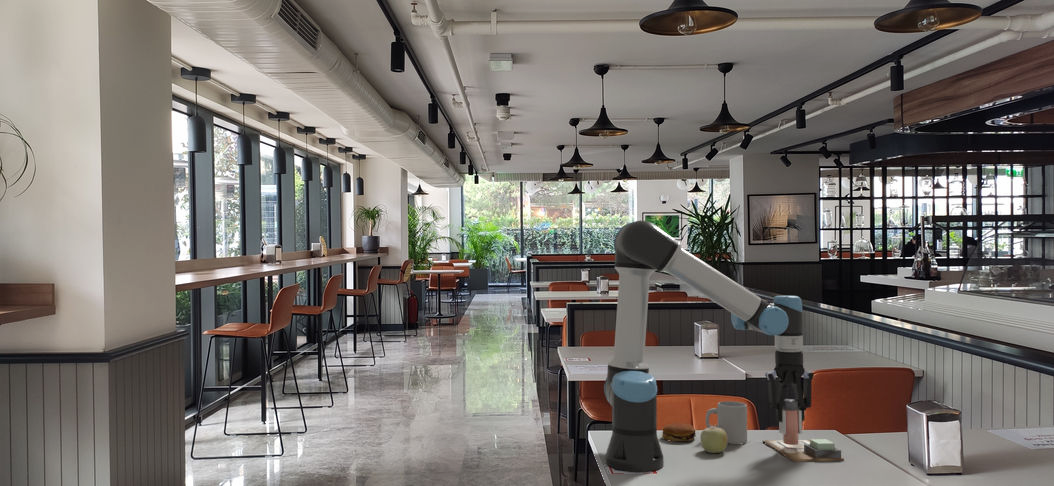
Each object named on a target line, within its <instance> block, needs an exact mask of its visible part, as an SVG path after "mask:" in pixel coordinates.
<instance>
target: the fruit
mask: <svg viewBox="0 0 1054 486" xmlns="http://www.w3.org/2000/svg"><path fill="white" fill-rule="evenodd" d="M712 426H713V427H709V428H707V427H706V428H704V429H703V430H702V431H701V433H700V443H701V446H702V448H703V449H704V450H705V451H706V452H707V453H709V454H716V453H717V454H718V453H721V452H724V451H725V449H726V448H727V446H728V444H727V441H728V439H727V434H726V432H725V431H724V430H723V429H721V428H717V427H714V426H716V423H714V424H712Z"/></svg>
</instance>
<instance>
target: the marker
mask: <svg viewBox="0 0 1054 486" xmlns="http://www.w3.org/2000/svg"><path fill="white" fill-rule="evenodd" d="M783 410H785V411H786V434H782V437H783V438H782V440H783V443H785V444H788V445H797V444H798V440H799V433H798V401H797V400H796V399H792V398H785V400H784V406H783Z"/></svg>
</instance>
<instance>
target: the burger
mask: <svg viewBox="0 0 1054 486" xmlns="http://www.w3.org/2000/svg"><path fill="white" fill-rule="evenodd" d="M661 435H662V439H663V438H664V439H663V440H665V439H666V440H665V441H667V440H670V441H688V442H690V440H691V441H693V439H694V440H695V437H697V435H696V430H695V428H694V426H693V425H692V424H691V423H682V422H671V423H667V424H666V425H664V426H663V428H662V434H661ZM670 441H669V442H670Z"/></svg>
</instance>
